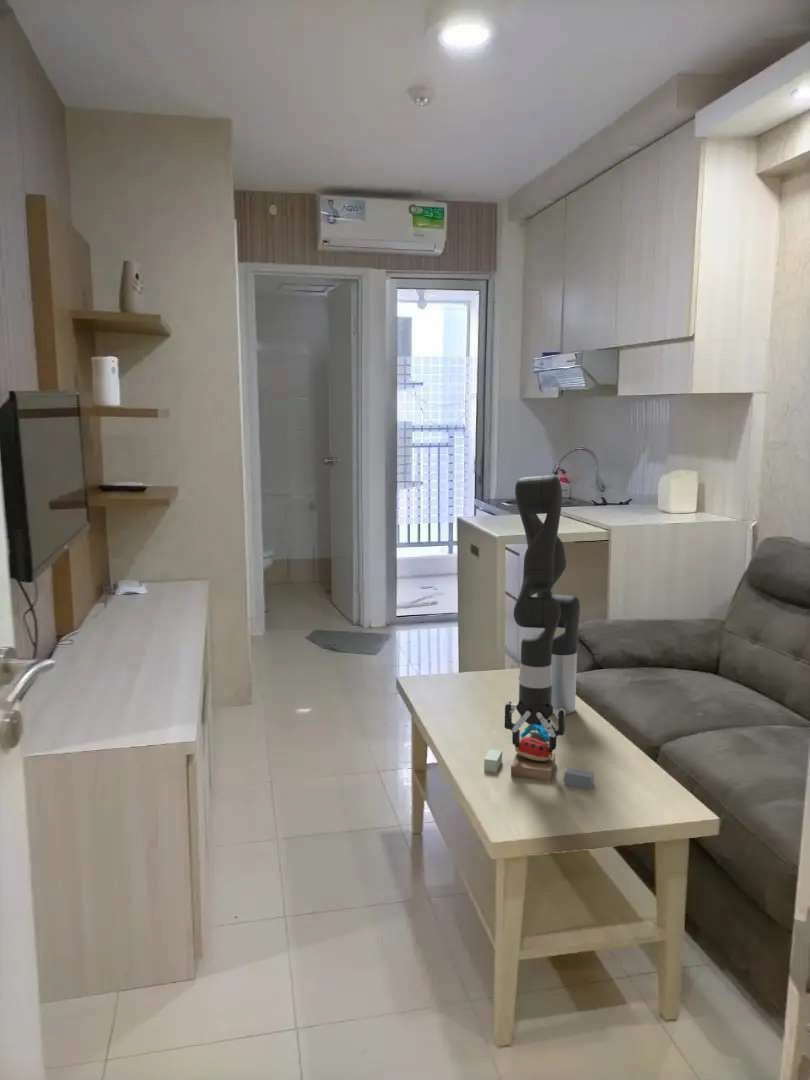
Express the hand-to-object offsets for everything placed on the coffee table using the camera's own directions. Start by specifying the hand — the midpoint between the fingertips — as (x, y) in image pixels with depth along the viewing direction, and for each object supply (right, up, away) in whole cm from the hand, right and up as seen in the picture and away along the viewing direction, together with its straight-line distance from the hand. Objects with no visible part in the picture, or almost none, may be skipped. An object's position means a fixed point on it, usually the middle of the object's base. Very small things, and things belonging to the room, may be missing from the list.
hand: (534, 748), depth 188 cm
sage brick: (-9, -5, +3) cm, 11 cm away
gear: (+4, -3, +20) cm, 21 cm away
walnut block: (0, -6, +1) cm, 6 cm away
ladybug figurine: (0, -2, +2) cm, 3 cm away
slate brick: (+9, -7, -7) cm, 13 cm away
